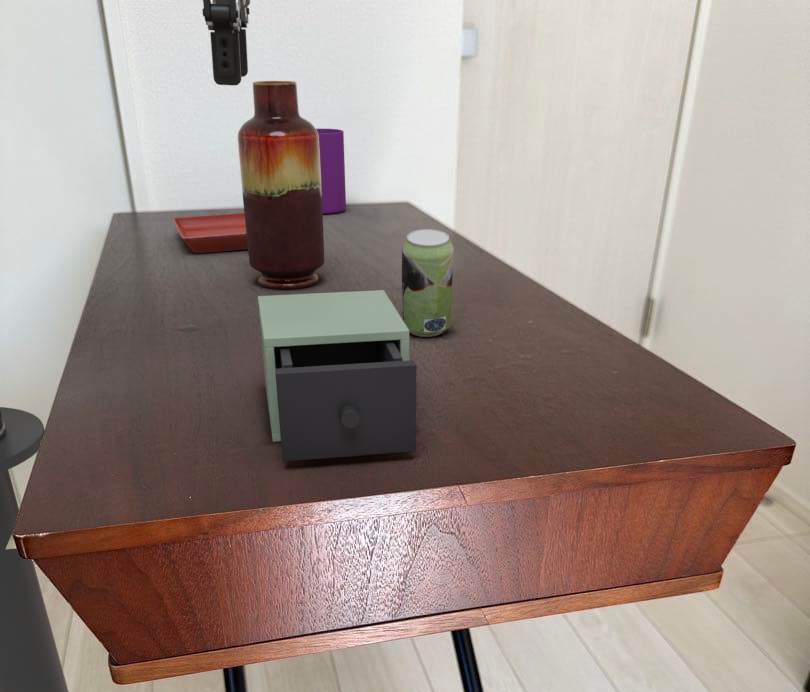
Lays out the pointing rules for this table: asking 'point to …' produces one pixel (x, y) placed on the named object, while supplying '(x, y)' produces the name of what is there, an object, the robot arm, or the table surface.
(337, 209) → the mug
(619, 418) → the table surface
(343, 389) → the drawer
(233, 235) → the plant saucer
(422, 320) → the beverage can
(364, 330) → the cabinet
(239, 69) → the robot arm
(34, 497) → the table surface
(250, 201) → the vase
